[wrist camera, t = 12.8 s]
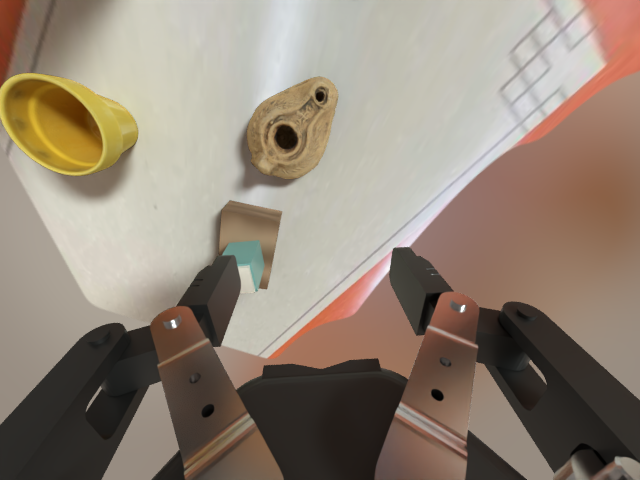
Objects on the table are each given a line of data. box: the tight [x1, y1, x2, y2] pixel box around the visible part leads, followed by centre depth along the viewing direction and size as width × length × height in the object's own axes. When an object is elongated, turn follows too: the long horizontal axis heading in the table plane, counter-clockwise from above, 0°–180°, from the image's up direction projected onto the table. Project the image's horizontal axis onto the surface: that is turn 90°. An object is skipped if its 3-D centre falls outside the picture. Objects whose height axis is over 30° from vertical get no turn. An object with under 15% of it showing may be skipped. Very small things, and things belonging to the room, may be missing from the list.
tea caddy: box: [222, 240, 265, 294], centre depth 38 cm, size 5×5×8 cm
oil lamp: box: [247, 77, 338, 179], centre depth 33 cm, size 11×15×8 cm
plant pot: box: [0, 73, 138, 176], centre depth 31 cm, size 10×10×10 cm
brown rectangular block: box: [219, 201, 282, 289], centre depth 43 cm, size 14×9×5 cm, turn 166°
